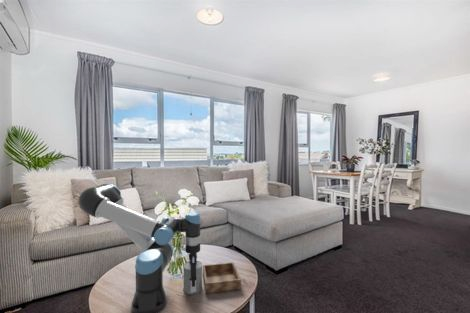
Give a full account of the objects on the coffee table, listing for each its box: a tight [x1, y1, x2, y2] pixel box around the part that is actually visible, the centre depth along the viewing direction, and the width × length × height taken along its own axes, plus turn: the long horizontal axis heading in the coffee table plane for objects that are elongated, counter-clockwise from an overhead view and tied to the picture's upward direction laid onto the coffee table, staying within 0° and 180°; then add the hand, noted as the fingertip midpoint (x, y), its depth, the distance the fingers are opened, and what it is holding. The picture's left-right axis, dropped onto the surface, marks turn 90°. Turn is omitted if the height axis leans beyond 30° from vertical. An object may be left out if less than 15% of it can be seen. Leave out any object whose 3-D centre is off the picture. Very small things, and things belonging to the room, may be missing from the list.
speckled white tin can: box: [182, 260, 203, 295], centre depth 121 cm, size 10×10×12 cm
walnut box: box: [202, 261, 242, 295], centre depth 127 cm, size 18×19×6 cm
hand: (192, 284), depth 121 cm, fingers open, 13 cm apart
